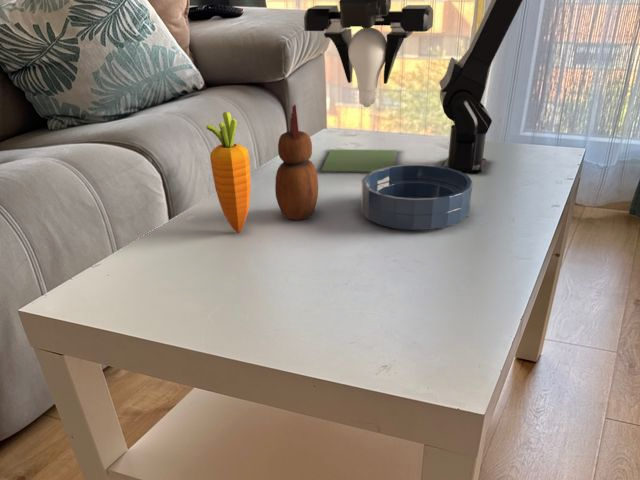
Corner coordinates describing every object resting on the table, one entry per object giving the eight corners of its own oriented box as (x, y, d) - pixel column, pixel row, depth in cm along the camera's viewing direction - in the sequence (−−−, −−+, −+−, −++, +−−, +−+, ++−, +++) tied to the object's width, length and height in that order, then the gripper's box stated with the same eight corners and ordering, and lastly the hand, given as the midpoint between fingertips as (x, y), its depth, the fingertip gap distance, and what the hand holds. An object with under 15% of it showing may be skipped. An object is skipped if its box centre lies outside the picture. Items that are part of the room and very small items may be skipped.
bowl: (375, 191, 99) (376, 161, 96) (474, 199, 95) (478, 168, 92) (349, 227, 88) (349, 194, 85) (459, 237, 84) (463, 203, 81)
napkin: (330, 151, 116) (330, 149, 116) (396, 152, 115) (396, 150, 115) (321, 171, 107) (321, 170, 107) (392, 172, 106) (392, 171, 105)
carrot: (241, 242, 85) (228, 121, 75) (212, 235, 87) (196, 116, 77) (263, 229, 88) (253, 111, 78) (235, 223, 90) (221, 108, 81)
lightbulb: (392, 105, 103) (395, 25, 96) (375, 113, 99) (377, 31, 92) (359, 101, 106) (360, 24, 99) (341, 109, 102) (340, 29, 95)
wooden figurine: (313, 225, 89) (308, 108, 79) (273, 223, 90) (264, 107, 80) (322, 208, 94) (319, 96, 84) (284, 206, 95) (278, 95, 85)
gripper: (289, -35, 87) (295, 92, 97) (425, -37, 82) (417, 95, 92) (313, -40, 95) (316, 77, 105) (437, -42, 91) (429, 80, 100)
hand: (367, 82), depth 100 cm, fingers closed on lightbulb, 5 cm apart
